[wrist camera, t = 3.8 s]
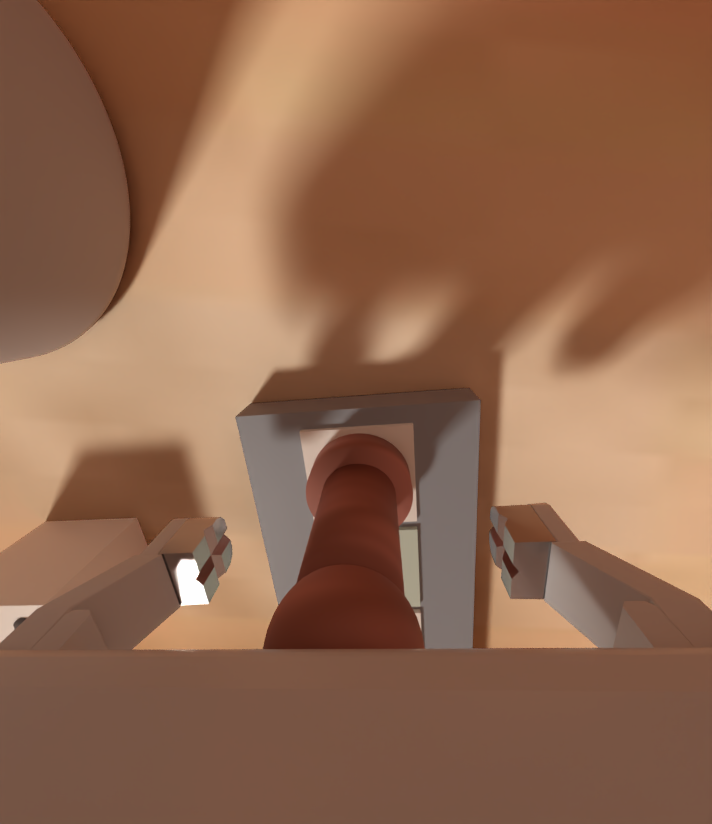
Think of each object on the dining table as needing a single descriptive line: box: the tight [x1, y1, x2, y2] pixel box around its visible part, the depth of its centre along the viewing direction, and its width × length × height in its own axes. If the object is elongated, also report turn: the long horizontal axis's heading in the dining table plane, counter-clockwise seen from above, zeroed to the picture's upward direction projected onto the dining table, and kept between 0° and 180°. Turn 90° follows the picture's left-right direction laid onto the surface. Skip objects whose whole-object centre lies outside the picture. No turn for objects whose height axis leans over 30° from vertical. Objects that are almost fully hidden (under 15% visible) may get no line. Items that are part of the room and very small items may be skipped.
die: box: [0, 518, 147, 643], centre depth 15 cm, size 5×5×5 cm
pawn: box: [263, 433, 425, 649], centre depth 9 cm, size 4×4×8 cm
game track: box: [236, 388, 481, 649], centre depth 17 cm, size 9×24×2 cm, turn 5°
